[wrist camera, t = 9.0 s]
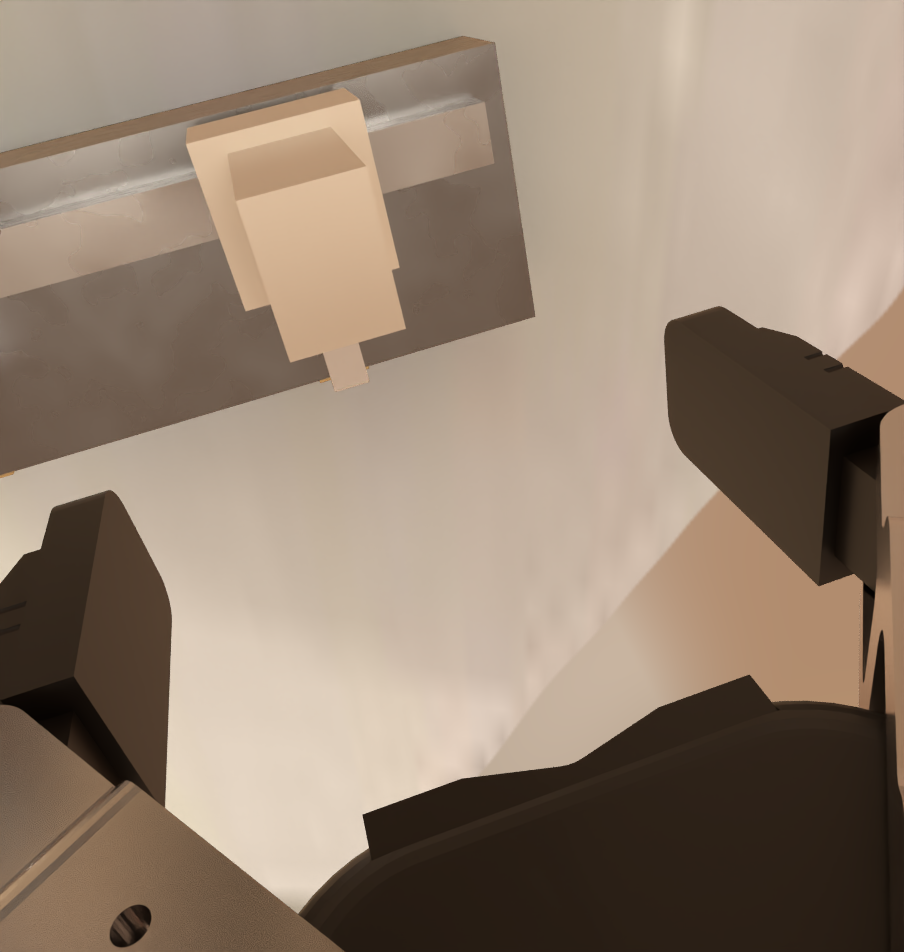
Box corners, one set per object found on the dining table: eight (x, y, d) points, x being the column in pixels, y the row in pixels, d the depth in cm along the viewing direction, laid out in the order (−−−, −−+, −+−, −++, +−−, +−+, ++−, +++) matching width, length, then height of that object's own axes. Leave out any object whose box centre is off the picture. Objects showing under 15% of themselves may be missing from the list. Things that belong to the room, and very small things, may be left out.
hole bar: (-322, 234, 28) (-576, 358, 19) (462, 36, 31) (574, 59, 22) (-143, 479, 33) (-271, 666, 24) (505, 290, 36) (607, 393, 27)
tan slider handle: (187, 123, 26) (182, 190, 18) (339, 84, 26) (403, 132, 18) (271, 362, 31) (298, 503, 22) (399, 324, 31) (472, 449, 23)
